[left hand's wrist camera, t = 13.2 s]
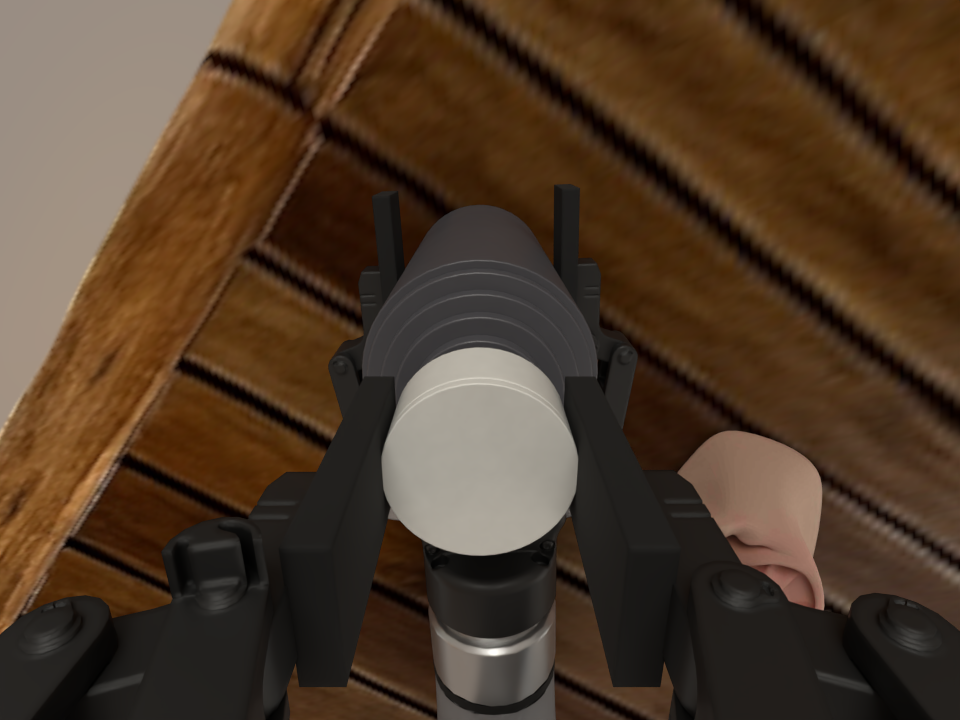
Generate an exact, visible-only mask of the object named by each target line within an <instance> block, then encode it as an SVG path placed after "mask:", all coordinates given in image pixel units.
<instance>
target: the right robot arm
mask: <svg viewBox="0 0 960 720" xmlns="http://www.w3.org/2000/svg"><path fill="white" fill-rule="evenodd" d="M579 199H580V188H578V187H576V186H573V185H571V184H562V185H554V269H555V270H556V272H557V274H558V275H559V277H560V279H561V280H562V282H563V283H564V285H565V287H566V288H567V290H568V292H569V293H570V295H571V297H572V298H573V300H574V302H575V303H576V305H577V307H578V308H579V310H580V311H581V313H582V315H583V316H584V318H585V320H586V322H587V325H588V327H589V329H590V331H591V334H592V337H593V340H594V343H595V348H596V354H597V359H599V361H598V374H597V381H598V383H599V385H600V387H601V389H602V391H603V393H604V395H605V397H606V399H607V401H608V403H609V405H610V407H611V409H612V411H613V413H614V415H615V417H616V419H617V421H618V423H619V425H620V427H621V429H623V424H624V419H625V415H626V410H627V405H628V401H629V396H630V391H631V387H632V382H633V377H634V372H635V368H636V363H637V353H636V350H635V349H634V348H633V346H632V345H631V344H630V342H629V341H628V340H627V339H626V337H625V336H624V335H623V334H622V333H621V332H619V331H610V330H606V329H603V328H601V327H599V308H600V281H601V274H600V271H599V268H598V266H597V263H596V262H595V261H594V260H593V259H592V258H578V242H579ZM372 202H373V212H374V222H375V232H376V242H377V251H378V261H379V266H367V267H366V268H365V269H364V270H363V271H362V272H361V276H360V279H359V283H358V284H359V293H360V302H361V310H362V319H363V328H364V336H362V337H360V338H357V339H355V340H347V341H345V342H343V343H342V344H341V346H340V347H339V349H338V350H337V352H336V353H335V354H334V356H333V357H332V359H331V360H330V362H329V365H328V367H329V372H330V376H331V379H332V383H333V386H334V389H335V393H336V396H337V400H338V403H339V406H340V410H341V413H342V417H343V418H344V416H345V414H346V412H347V410H348V408H349V406H350V404H351V402H352V400H353V398H354V396H355V394H356V392H357V390H358V388H359V386H360V384H361V382H362V380H363V374H362V362H363V352H364V348H365V343H366V339H367V336H368V334H369V331H370V329H371V326H372V324H373V322H374V320H375V318H376V317H377V315H378V313H379V311H380V310H381V308H382V306H383V305H384V303H385V302H386V300H387V298H388V297H389V295H390V293H391V292H392V290H393V288H394V287H395V285H396V283H397V282H398V280H399V279H400V277H401V275H402V274H403V272H404V270H405V267H404V255H403V244H402V232H401V220H400V209H399V197H398V191H387V192H380V193H378V194H376V195H374V196H372ZM567 517H571V513H570V509H569V508H568V510H567V511H566V513H565V514H564V516H563V517H562V518H561V520H560V521H559V522H558V523H557V524H556V525H555V526H554V527H553V528H552V529H551V530H550V531H549V532H547V533H546V534H545V535H543V536H542V537H541V538H539V539H538V540H536V541H534V542H532V543H531V544H529V545H526V546H524V547H522V548H519V549H516V550H513V551H510V552H506V553H501V554H496V555H485V556H477V555H465V554H458V553H454V552H450V551H446V550H443V549H441V548H438V547H435V546H433V545H431V544H429V543H427V542H425V541H424V540H422V539H421V540H422V544H423V553H424V564H425V575H426V586H427V596H428V601H429V610H428V611H429V620H430V630H431V639H432V648H433V661H434V668H435V674H436V693H437V720H556V716H555V691H554V664H555V652H556V602H555V596H556V541H557V536H558V533H559V531H560V529H561V528H562V527H563V525H564V523H565V521H566V518H567ZM388 519H393V520H399V519H398V517H397V516H396V515H395V513H394V512H393V510H392V509H391V508H390V512H389V516H388Z"/></svg>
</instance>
